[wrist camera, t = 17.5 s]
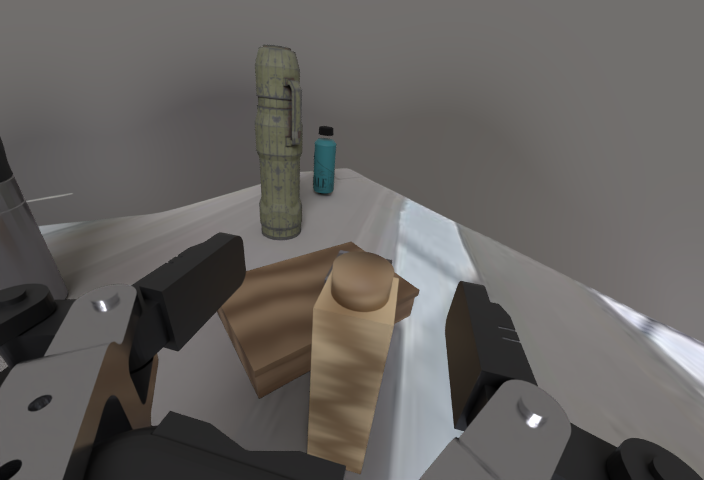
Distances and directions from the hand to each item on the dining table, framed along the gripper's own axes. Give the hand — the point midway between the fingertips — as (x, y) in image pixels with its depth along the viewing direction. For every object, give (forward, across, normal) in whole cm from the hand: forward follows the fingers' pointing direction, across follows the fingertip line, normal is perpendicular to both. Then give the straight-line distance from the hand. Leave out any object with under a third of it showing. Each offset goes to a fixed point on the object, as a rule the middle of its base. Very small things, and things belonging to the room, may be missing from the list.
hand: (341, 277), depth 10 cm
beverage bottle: (+73, +23, +24) cm, 80 cm away
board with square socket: (+23, +8, +24) cm, 34 cm away
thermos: (+46, +24, +24) cm, 57 cm away
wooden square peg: (+7, 0, +24) cm, 25 cm away
